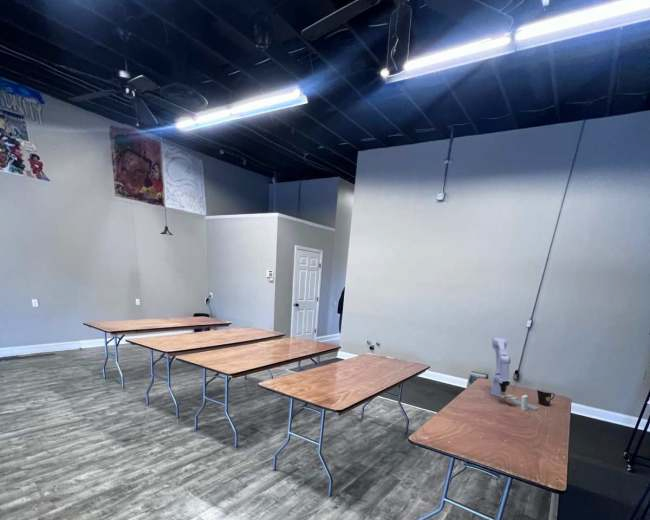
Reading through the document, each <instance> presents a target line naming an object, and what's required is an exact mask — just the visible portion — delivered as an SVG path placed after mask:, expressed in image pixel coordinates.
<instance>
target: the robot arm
mask: <svg viewBox="0 0 650 520" xmlns="http://www.w3.org/2000/svg"><path fill="white" fill-rule="evenodd" d="M491 346H492V348H493V350H494V353H495V365H496V370H494V371H493V372H492V382H491V385H490V395H493V396H496V397H499V398H502V399H505V398H506V397H505V396H504V395H501V394H500V388H501V391H502V392H505V391H506V386H508V387H509V386H510V385H511V381H512V380H511V378H510V365H511V357H510V356H509V354H508V351H507V346H508V340H507V338H502V337H492V339H491Z"/></svg>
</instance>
